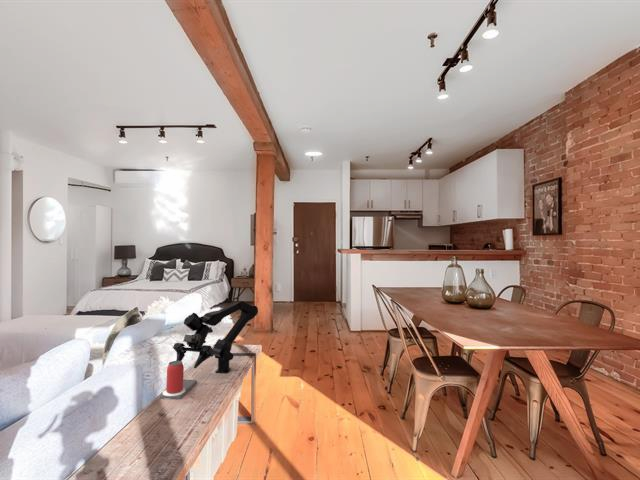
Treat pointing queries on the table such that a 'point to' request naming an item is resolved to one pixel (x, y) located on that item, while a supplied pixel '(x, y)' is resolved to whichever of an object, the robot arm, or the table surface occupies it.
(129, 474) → the table surface
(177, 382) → the beer can
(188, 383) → the charging dock
